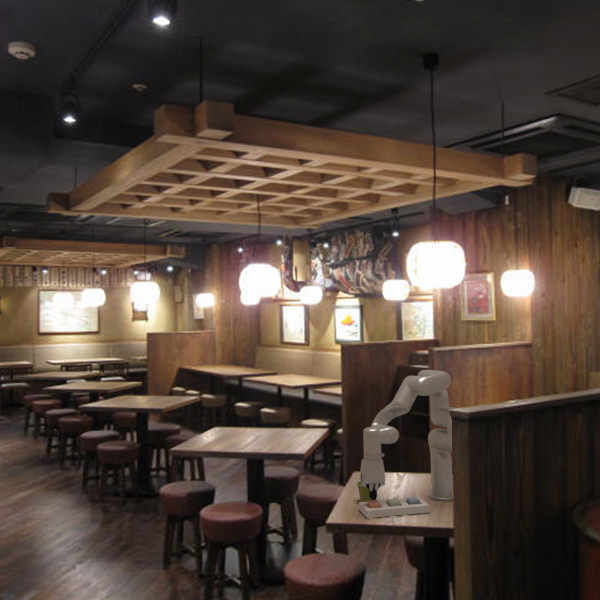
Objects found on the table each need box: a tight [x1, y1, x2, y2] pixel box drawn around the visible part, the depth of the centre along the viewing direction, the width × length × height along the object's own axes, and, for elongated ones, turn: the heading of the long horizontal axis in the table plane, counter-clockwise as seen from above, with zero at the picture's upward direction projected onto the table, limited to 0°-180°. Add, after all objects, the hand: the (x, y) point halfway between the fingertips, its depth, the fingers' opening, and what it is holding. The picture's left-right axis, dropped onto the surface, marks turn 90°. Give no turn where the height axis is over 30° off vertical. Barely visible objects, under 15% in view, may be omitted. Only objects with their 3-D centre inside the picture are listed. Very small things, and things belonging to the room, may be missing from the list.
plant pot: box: [356, 480, 374, 502], centre depth 274 cm, size 9×9×9 cm
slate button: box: [406, 496, 421, 505], centre depth 262 cm, size 4×4×3 cm
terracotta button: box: [367, 499, 380, 508], centre depth 258 cm, size 4×4×3 cm
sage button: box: [386, 498, 400, 507], centre depth 260 cm, size 4×4×3 cm
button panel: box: [358, 496, 431, 520], centre depth 260 cm, size 28×12×4 cm, turn 101°
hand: (373, 499), depth 258 cm, fingers closed
